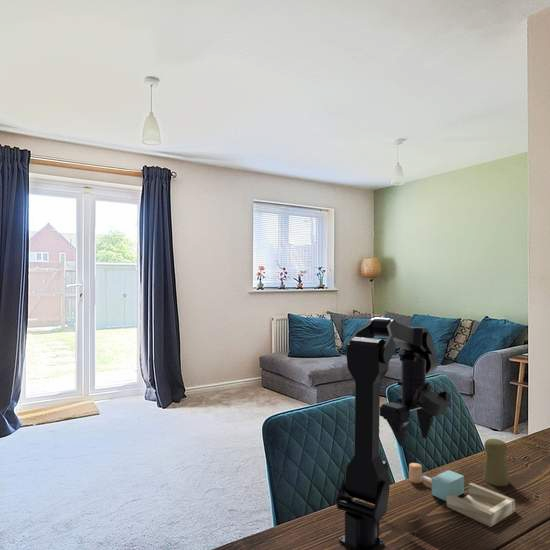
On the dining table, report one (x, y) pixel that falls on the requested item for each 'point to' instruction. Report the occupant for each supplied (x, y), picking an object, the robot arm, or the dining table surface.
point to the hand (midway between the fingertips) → (413, 441)
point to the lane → (482, 505)
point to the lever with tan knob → (439, 481)
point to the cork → (495, 463)
